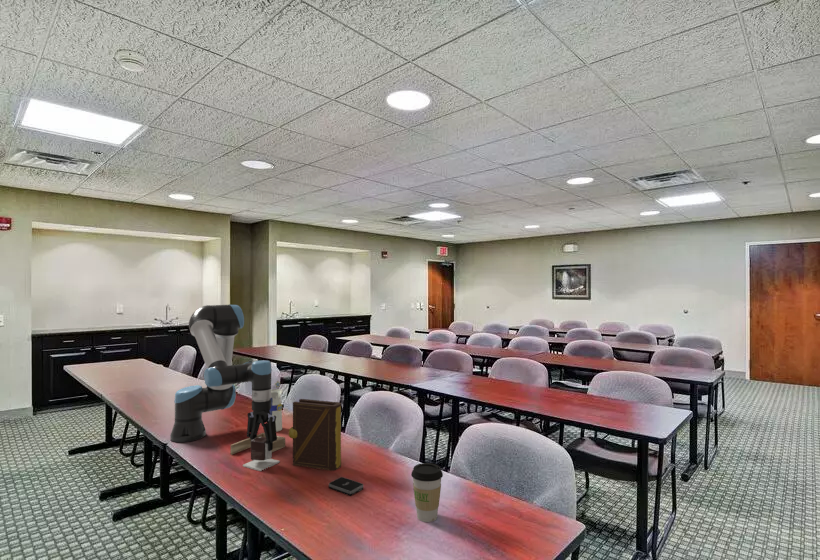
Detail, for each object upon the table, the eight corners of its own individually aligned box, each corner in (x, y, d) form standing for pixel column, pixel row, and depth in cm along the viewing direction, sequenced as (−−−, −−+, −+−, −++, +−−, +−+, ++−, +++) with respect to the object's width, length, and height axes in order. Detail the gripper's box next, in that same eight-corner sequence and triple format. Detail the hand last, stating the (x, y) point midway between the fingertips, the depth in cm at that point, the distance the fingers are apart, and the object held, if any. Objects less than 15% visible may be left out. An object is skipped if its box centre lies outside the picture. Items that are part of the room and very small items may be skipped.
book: (343, 464, 180) (344, 401, 180) (333, 472, 172) (333, 407, 172) (296, 457, 187) (296, 397, 187) (284, 465, 179) (285, 402, 179)
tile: (242, 466, 178) (242, 464, 178) (262, 457, 186) (262, 456, 186) (260, 471, 173) (260, 469, 173) (279, 462, 182) (279, 460, 182)
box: (263, 461, 176) (263, 442, 176) (250, 459, 177) (250, 441, 177) (272, 455, 182) (272, 437, 182) (258, 454, 183) (258, 436, 183)
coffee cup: (410, 509, 143) (410, 462, 143) (440, 508, 144) (440, 461, 144) (412, 526, 133) (412, 475, 133) (445, 524, 134) (445, 474, 134)
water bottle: (287, 427, 226) (287, 378, 226) (275, 433, 218) (275, 381, 218) (274, 425, 229) (274, 377, 230) (262, 430, 222) (262, 380, 222)
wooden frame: (230, 454, 190) (230, 444, 191) (262, 441, 206) (262, 432, 206) (253, 460, 184) (253, 450, 184) (285, 446, 200) (285, 437, 200)
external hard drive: (350, 497, 152) (350, 491, 152) (327, 488, 158) (327, 483, 159) (364, 489, 158) (364, 484, 158) (341, 481, 164) (341, 476, 164)
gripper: (236, 398, 181) (236, 455, 181) (272, 404, 172) (272, 464, 172) (251, 394, 188) (251, 449, 188) (286, 400, 179) (286, 458, 178)
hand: (261, 456), depth 180 cm, fingers closed on box, 7 cm apart
